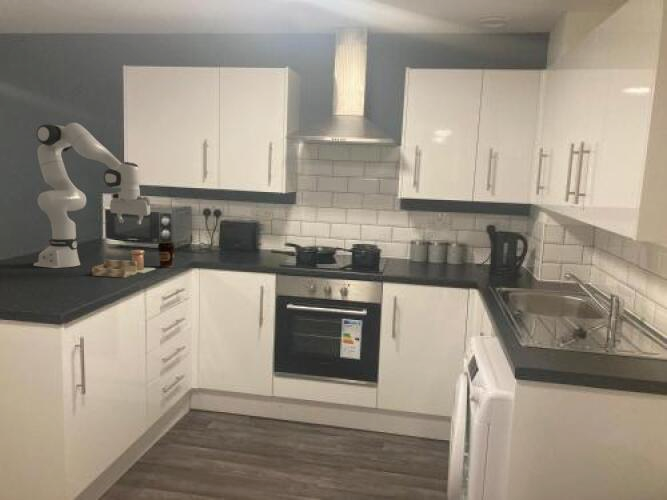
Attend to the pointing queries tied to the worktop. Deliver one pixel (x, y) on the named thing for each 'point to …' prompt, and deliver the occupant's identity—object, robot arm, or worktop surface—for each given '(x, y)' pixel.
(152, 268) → the mat
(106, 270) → the wooden compartment tray
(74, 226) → the robot arm
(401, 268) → the worktop surface
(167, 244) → the dark brown jar
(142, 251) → the pot
